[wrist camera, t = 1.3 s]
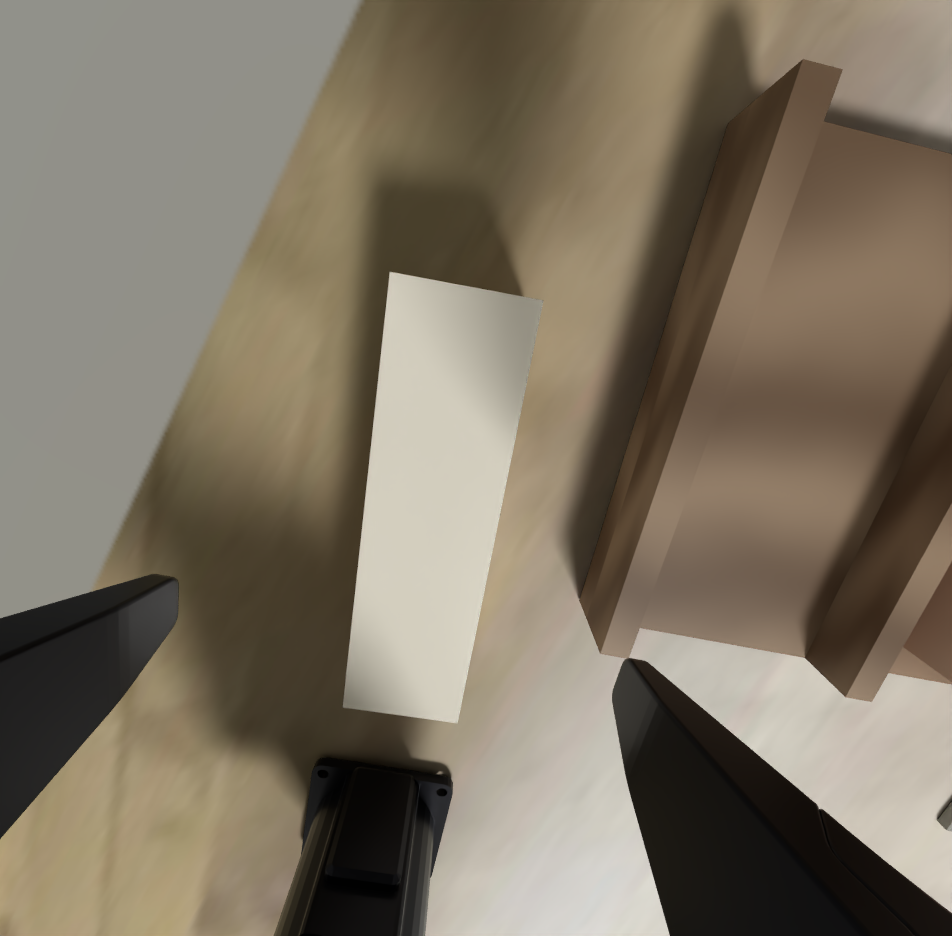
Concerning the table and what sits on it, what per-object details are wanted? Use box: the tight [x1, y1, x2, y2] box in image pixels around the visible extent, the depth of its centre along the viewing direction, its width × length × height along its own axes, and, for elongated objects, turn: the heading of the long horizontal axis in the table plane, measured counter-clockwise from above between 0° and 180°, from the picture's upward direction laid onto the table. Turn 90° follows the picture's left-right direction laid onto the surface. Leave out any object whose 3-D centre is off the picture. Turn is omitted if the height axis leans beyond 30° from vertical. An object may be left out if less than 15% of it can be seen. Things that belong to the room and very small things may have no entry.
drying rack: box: [579, 59, 952, 702], centre depth 15 cm, size 17×19×3 cm
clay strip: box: [343, 272, 543, 723], centre depth 15 cm, size 14×4×4 cm, turn 170°
